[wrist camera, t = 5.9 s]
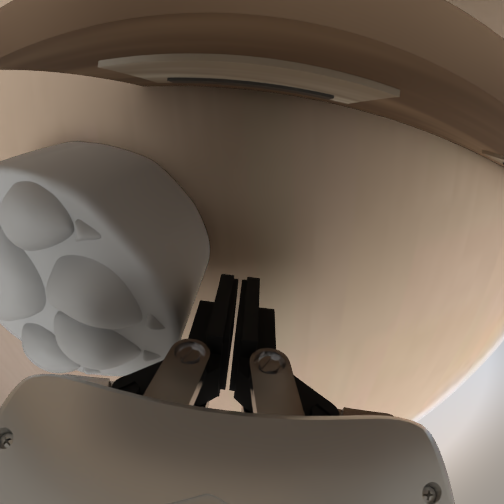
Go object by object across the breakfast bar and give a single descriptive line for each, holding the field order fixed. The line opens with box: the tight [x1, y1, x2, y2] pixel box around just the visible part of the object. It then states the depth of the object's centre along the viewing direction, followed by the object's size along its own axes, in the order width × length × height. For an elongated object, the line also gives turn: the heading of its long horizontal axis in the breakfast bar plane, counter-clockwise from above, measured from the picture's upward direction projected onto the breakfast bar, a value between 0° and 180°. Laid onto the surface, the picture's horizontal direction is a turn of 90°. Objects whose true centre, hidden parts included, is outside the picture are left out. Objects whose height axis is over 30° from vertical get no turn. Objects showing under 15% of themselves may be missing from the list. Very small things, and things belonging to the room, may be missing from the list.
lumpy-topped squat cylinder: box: [0, 141, 210, 376], centre depth 13 cm, size 10×13×9 cm
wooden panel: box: [0, 0, 504, 167], centre depth 8 cm, size 2×28×11 cm, turn 83°
